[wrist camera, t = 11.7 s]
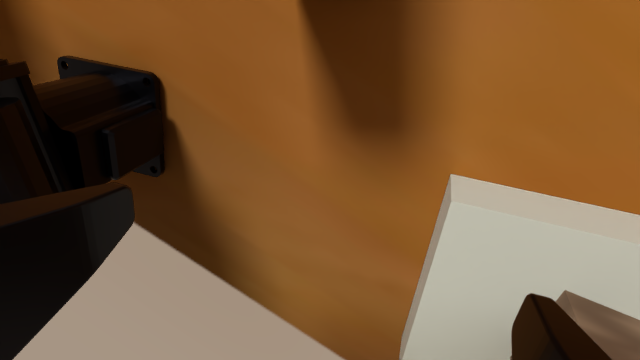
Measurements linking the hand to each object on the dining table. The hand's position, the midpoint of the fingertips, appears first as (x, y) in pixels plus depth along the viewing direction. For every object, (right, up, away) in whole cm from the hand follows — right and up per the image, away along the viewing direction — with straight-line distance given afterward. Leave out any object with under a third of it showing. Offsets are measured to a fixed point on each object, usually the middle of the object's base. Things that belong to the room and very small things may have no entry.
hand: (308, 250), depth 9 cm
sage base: (+12, -5, +14) cm, 19 cm away
